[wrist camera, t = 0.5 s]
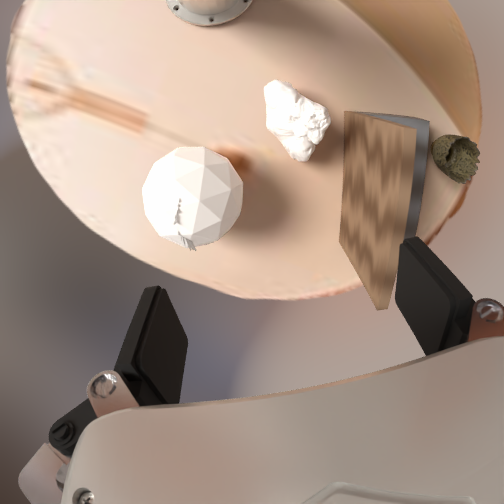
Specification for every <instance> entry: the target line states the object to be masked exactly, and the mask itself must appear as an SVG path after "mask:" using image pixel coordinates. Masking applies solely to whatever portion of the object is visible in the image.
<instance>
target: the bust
mask: <svg viewBox="0 0 504 504" xmlns="http://www.w3.org/2000/svg"><path fill="white" fill-rule="evenodd" d="M264 97H265V100H266V106H267V107H266V111H267V114H266V115H267V119H266V122H267V123H266V126H267V128H268V130H269V131H270V132H271V133H273V134H274V135H275V136H276V137H277V138H278V139H279V140H280V141H281V143H282V144H283V146H284V148H285V149H286V151H287V152H288V153H289V155H290V156H291V158H293V159H297V160H298V161H304V162H305V161H308V160H309V158H310V156H311V154H312V153H313V152H314V150H315V144H319V142H320V141H321V140H322V139H323V136H324V134H325V132H324V131H325V130H326V129H327V128H328V127H329V125H330V123H331V117H330V116H329V113H328V109H327V108H326V107H324V106H321V105H320V104H318V103H317V102H313V101H311V100H309V99H307V98H306V97H305V96H303V95H302V94H299V93H298V91H297V90H296V89H295V88H293V87H292V84H290V83H289V82H283V81H280V80H273V81H272V82H269V83H268V84H267V85H266V86H265V87H264Z"/></svg>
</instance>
